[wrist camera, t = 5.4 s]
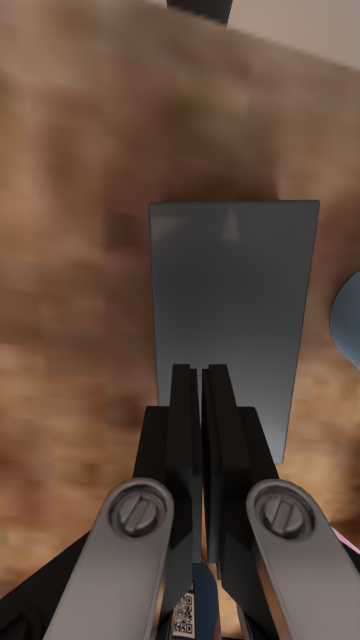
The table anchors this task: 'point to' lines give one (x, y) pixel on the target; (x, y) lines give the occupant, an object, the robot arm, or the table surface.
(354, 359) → the bottle
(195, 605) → the soda can
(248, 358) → the block
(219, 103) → the table surface
